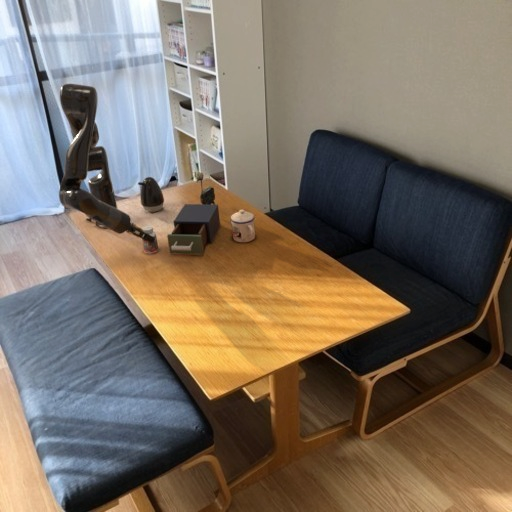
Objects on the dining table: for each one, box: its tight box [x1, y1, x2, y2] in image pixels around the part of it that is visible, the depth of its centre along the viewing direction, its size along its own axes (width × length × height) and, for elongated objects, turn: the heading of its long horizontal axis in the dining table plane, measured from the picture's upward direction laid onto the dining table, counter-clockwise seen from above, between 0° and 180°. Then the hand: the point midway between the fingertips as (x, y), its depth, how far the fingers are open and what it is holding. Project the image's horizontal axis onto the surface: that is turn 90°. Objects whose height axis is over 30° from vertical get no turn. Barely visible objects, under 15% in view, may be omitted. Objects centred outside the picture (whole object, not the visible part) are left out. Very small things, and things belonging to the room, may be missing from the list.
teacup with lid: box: [230, 209, 256, 243], centre depth 195 cm, size 12×9×12 cm
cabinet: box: [173, 203, 221, 245], centre depth 202 cm, size 16×14×9 cm
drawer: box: [166, 223, 208, 255], centre depth 191 cm, size 20×13×7 cm, turn 171°
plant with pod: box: [195, 171, 216, 205], centre depth 216 cm, size 8×11×20 cm
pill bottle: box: [141, 225, 159, 255], centre depth 192 cm, size 5×5×10 cm
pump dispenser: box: [137, 176, 165, 213], centre depth 224 cm, size 10×10×15 cm
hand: (147, 236), depth 191 cm, fingers open, 8 cm apart
